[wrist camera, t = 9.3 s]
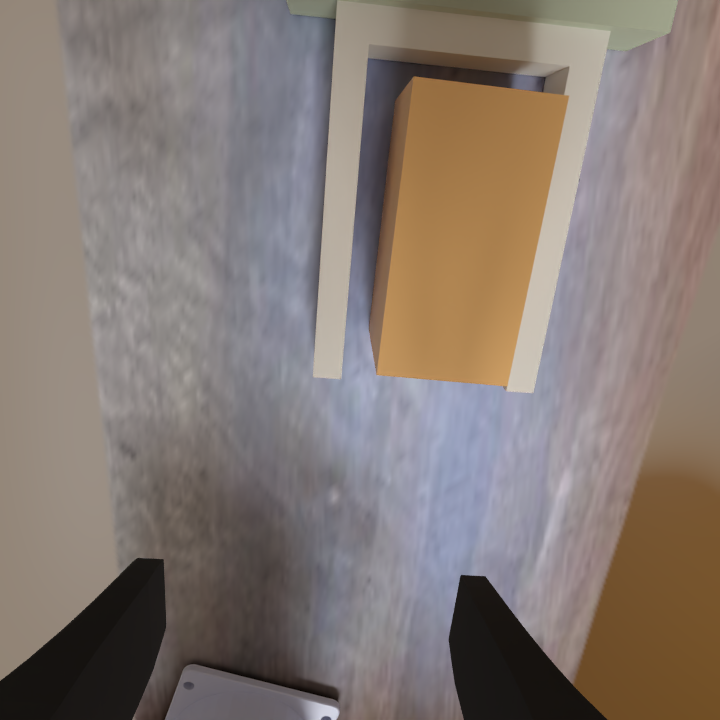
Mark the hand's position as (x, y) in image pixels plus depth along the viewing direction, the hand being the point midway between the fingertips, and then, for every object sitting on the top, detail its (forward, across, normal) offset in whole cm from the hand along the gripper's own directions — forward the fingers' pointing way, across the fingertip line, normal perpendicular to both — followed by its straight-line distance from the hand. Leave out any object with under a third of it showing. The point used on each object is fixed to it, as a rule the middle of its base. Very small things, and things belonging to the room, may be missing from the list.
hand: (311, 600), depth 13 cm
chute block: (+10, -4, -8) cm, 13 cm away
